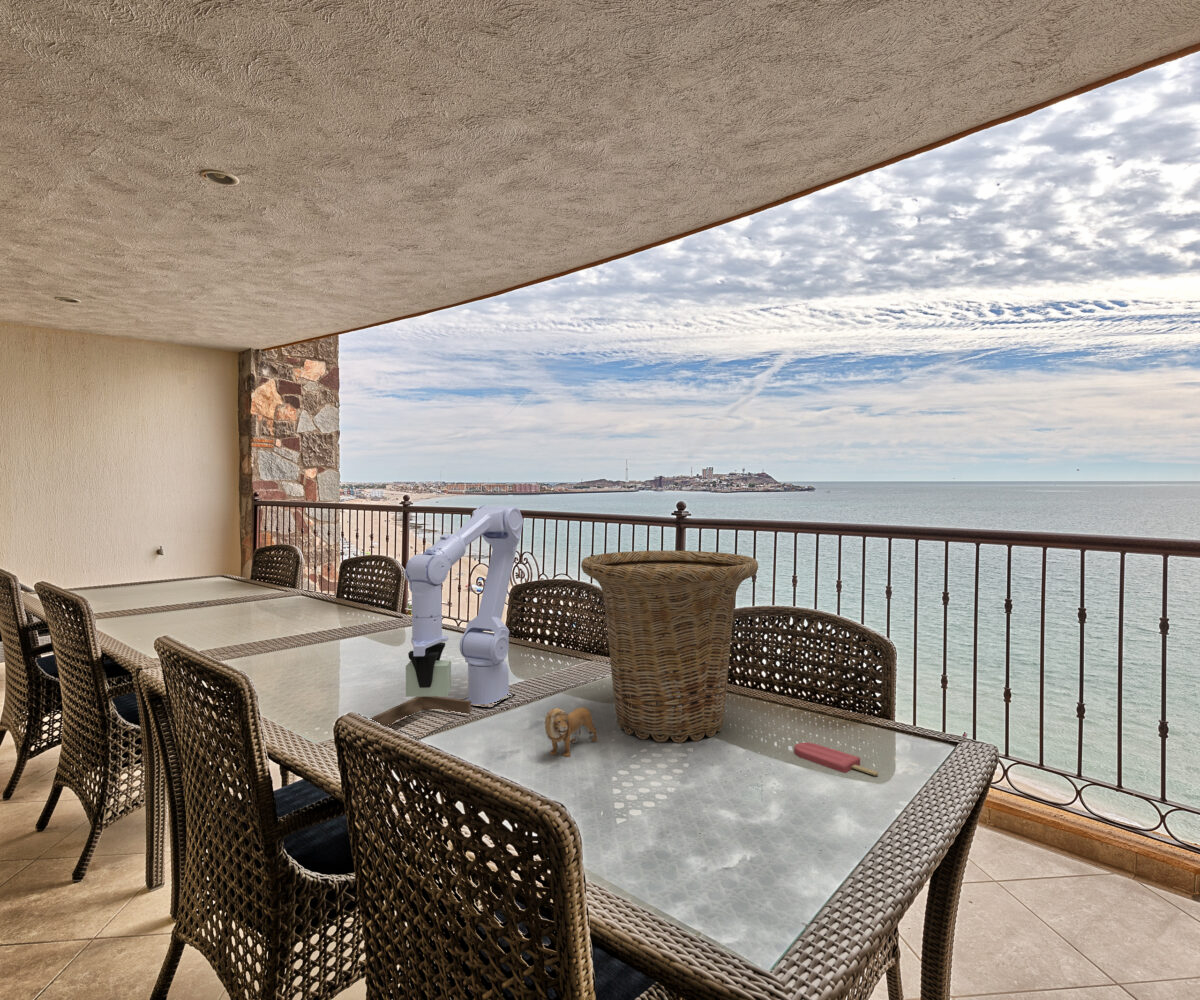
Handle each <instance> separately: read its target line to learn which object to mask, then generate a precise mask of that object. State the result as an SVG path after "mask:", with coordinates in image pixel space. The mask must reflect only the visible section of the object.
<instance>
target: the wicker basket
mask: <svg viewBox="0 0 1200 1000" xmlns="http://www.w3.org/2000/svg"><path fill="white" fill-rule="evenodd" d="M580 564H581V566H580V567H581V570H582V572H583V573H584V574H585V575H586V576H588V577H590V578H592V579H594V580H596V582H597V583H598V584H599V586H600V588H601V591H602V595H603V601H604V609H605V618H606V619H605V620H606V630H607V640H608V651H609V660H610V671H611V679H612V682H611V683H612V690H613V691H612V692H613V699H614V700H613V701H614V707H615V715H616V722H617V726H618V728H619V729H620V730H622V729H623V730H624V733H626V734H627V735H629V736H630V735H633V734H634V733H635V735H636V737H637V738H639V739H640V740H647V739H648V738H650V735H651V737H652V739H653V740H654V741H655V742H657V743H665V742H666V741H668V739H669V738H671V740H672V741H673V742H674V743H677V744H682V743H684V742H685V741H687V740H688V737H689V738H690V739H691V740H692V741H694V742H699V741H701V740H703V738H704V736H707V737H708V738H712V737H714V736H715V734H716V733H717V732H721V731H722V729H723V724H724V715H725V709H726V708H725V706H726V697H727V687H728V677H729V675H728V674H729V667H730V666H729V664H730V655H731V654H730V653H731V642H732V632H733V631H732V630H733V621H734V610H735V601H736V600H735V599H736V596H737V595H736V594H737V591H738V589H739V587H740V585H741V584H742V583H743V582H744V581H745V580H747V579H750V578H752V577H753V576H754V575H756V574H757V572H758V570H759V562H758V560H756V559H755V558H753V557H750V556H747V555H743V554H736V553H735V554H734V553H729V552H718V551H696V550H635V551H632V550H631V551H619V552H608V553H606V552H605V553H600V554H599V553H598V554H594V555H590V556H587V557H584V558H583V559H582V561H581V563H580Z"/></svg>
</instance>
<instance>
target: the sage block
mask: <svg viewBox="0 0 1200 1000" xmlns="http://www.w3.org/2000/svg"><path fill="white" fill-rule="evenodd" d="M451 691H452V661H451V659H450V660H447V659H443V660H441V659H440V660H436V661H435V665H434V670H433V678H432V684H431V687H429V688H420V687H419V684H418V680H417V676H416V672H415V669H414V666H413V664H412V662H411V660H409V662H408V663H407V664H406V665H405V698H406V697H407V698H409V697H413V698H415V697H423V696H438V697H448V696H449V695H450V692H451Z"/></svg>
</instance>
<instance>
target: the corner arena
mask: <svg viewBox="0 0 1200 1000" xmlns="http://www.w3.org/2000/svg"><path fill="white" fill-rule="evenodd" d="M429 709H443V710H448V711H455V712H461V713H470V712H471V713H472V706H471V701H467V700H465V699H461V698H460V699H459V698H452V697H451V698H450V697H446V696H423V697H413V698H411V699H408V700H407V701H405V702H402V703H400V704H398V705H396V706H394V707H392V708H390V709H387V710H385V711H383V712H380V713H379V714H377V715H375V716H372V717H370V718H369V719H372V720H374V721H376V722H378V723H380V724H382V725H385V726H388V728H390V727H391V726H390V725H392V723H393V722H395V721H396V720H398V719H401V718H403V717H405V716H409V715H412V714H414V713H416V714H417V712H418V713H419V711H420V712H422V711H426V710H429ZM414 715H415V714H414ZM412 716H413V715H412ZM388 724H389V725H388ZM392 726H393V725H392ZM396 729H397V730H398V728H396ZM400 731H401V730H400ZM401 732H403V731H401ZM404 733H405V734H408V733H406V732H404ZM408 735H410V734H408ZM410 736H413V735H410ZM413 737H415V736H413ZM415 738H417V737H415ZM417 740H419V738H418V739H417Z"/></svg>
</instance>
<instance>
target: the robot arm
mask: <svg viewBox="0 0 1200 1000" xmlns="http://www.w3.org/2000/svg"><path fill="white" fill-rule="evenodd" d="M471 514H472V515H471V517H470V518H469V520H467V521H466V522H465V524H463V525H462V526H461V528H459V529H458V530H457V531H456V532H455V533H454V534H453V533H447V534H445V533H443V534H442V535H440V536H439V540H437V542H435V543H433V545H431V546H428V547H427V548H426V549H425V551H424V552H423V553H422V554H415V555H413V556H412V557H411V558H410V559H409V560H408V561H407V563H406V566H405V568H404V576H405V579H406V581H407V582H408V589H409V590H410V592H411V630H412V631H411V639H410V641H411V644H412V646H413V650H410V651H409V652H408V654H407V655H408V659H409V661H411V662H412V664H413V666H414V669H415V672H416V676H417V680H418V684H419V687H420V688H429V687H431V684H432V678H433V670H434V665H435V661H436V660H441V656H442V654H443V651H444V649H445V647H446V642H448V640H449V636H448V635H443V626H442V625H443V620H442V619H443V617H442V616H443V615H442V614H443V613H442V612H443V611H442V609H443V605H442V602H443V601H442V595H443V594H442V583H444V582H445V581H446V579H447V577H448V573H449V571H450V570H451V568H452V567H453V565H455V564H456V563H457V562H458V561H459V560H460V559H462V558H463V557H464V555H465V554H466V550H467V546H469V545H470V544H471V543H473V542H474V541H476V540H477V539H478V538H479V537H482V538H483V540H484V541H485V542H486V543H487V544H488V545H490V546H491V549H492V551H491V556H490V561H489V564H488V567H487V572H486V578H485V582H484V586H483V592H482V596H481V600H480V604H479V609H478V612H477V613H478V614H477V616H475V617H474V618H473V619H471V620H470V621H469V622H467V624H466V627H465V630H464V633H463V634H462V636H461V638H460V641H459V652H460V655H461V656H462V657H463V658H464V659H465V661H464V662H465V663H467V684H468V686H467V688H468V689H467V693H468V695H467V696H468V697H467V698H465V699H464V700H467V701H471V704H489V703H494V702H497V701H499V700H500V699H501V698H502V697H504V696H505V695H507V694H508V695H511V694H512V693H510V691H509V689H510V687H509V686H510V685H509V682H510V681H509V667H508V664H507V661H505V659H506V658H507V655H508V653H509V647H510V642H509V636H510V630H509V628H508V627H507V625H506V624H505V623H504V622H503V621H502V618H503V614H504V613H503V612H504V608H505V606H506V605H505V604H506V601H507V600H506V599H507V595H508V590H509V585H510V580H511V576H512V571H513V566H514V563H515V557H516V553H517V547H518V544H520V540H521V539H520V538H521V535H522V531H523V525H524V519H523V516H522V512H521V511H520V509H519V507H518V506H516V505H486V504H484V505H479V506H478V507H477V508H476V509H475V510H473V511H472V513H471ZM506 697H507V696H506Z"/></svg>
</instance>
